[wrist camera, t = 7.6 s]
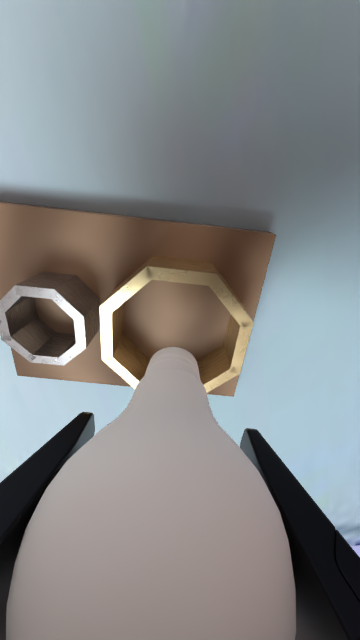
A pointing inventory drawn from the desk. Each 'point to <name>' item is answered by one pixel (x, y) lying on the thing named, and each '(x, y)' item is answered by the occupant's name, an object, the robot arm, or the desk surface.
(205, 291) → the walnut board
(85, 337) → the grey small collar
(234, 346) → the brass collar
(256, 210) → the desk surface
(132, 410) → the lightbulb
